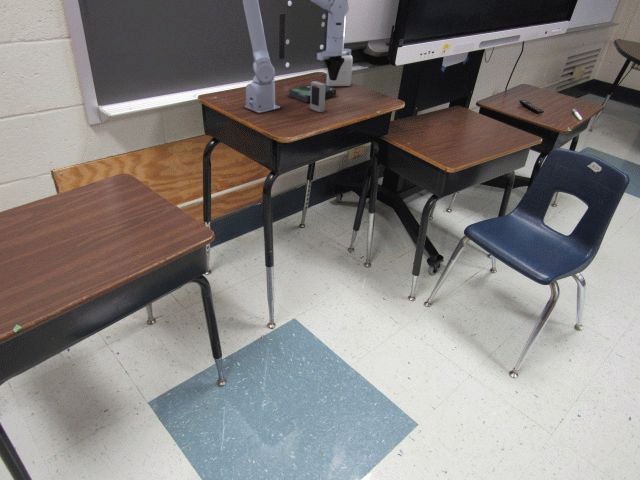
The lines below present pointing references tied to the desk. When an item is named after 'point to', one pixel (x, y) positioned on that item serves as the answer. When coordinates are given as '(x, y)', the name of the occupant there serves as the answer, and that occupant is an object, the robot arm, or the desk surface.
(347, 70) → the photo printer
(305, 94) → the disk drive
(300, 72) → the desk surface
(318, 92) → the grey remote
